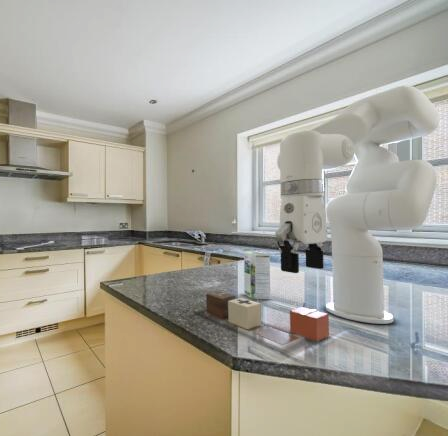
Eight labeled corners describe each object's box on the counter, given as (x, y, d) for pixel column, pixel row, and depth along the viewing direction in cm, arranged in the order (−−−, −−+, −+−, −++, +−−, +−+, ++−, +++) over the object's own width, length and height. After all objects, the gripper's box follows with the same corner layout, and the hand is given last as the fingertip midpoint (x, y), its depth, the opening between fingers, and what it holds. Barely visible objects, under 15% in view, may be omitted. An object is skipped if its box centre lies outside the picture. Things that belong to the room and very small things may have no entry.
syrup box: (243, 294, 83) (242, 251, 83) (261, 294, 82) (260, 251, 83) (252, 299, 77) (251, 253, 77) (271, 299, 77) (270, 253, 77)
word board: (220, 307, 70) (220, 306, 70) (308, 340, 51) (308, 337, 51) (196, 313, 66) (196, 311, 66) (283, 351, 46) (283, 349, 46)
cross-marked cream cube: (241, 317, 62) (241, 297, 62) (261, 324, 57) (260, 302, 57) (228, 321, 59) (228, 300, 59) (247, 329, 55) (247, 306, 55)
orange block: (303, 328, 56) (302, 306, 56) (329, 337, 52) (329, 313, 52) (289, 333, 54) (288, 310, 54) (316, 343, 49) (315, 318, 49)
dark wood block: (219, 309, 68) (219, 290, 68) (235, 315, 63) (235, 295, 63) (206, 312, 65) (206, 293, 65) (222, 318, 61) (221, 298, 61)
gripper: (298, 186, 46) (299, 277, 46) (341, 191, 54) (343, 269, 54) (259, 190, 53) (260, 270, 53) (303, 194, 61) (304, 264, 60)
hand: (302, 269), depth 53 cm, fingers open, 9 cm apart
